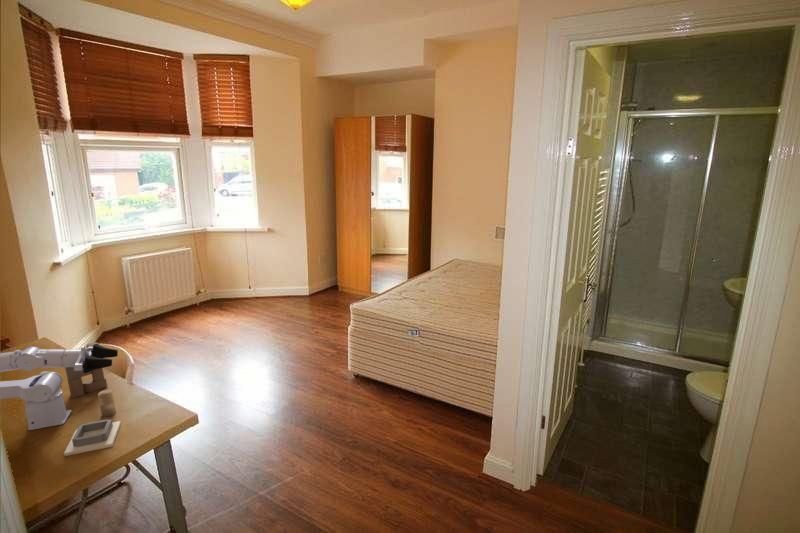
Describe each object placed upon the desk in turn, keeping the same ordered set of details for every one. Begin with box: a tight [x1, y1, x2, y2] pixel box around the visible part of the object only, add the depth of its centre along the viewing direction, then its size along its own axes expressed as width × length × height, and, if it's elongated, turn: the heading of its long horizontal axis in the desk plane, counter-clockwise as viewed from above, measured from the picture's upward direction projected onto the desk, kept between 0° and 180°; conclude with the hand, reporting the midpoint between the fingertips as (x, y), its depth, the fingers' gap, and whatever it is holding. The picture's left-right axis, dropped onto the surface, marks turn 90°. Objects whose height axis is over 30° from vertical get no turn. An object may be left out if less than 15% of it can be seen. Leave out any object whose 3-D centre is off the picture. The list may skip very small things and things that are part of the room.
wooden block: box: [64, 341, 108, 399], centre depth 154 cm, size 4×11×18 cm, turn 139°
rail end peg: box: [97, 389, 117, 418], centre depth 142 cm, size 4×4×8 cm
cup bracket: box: [63, 418, 122, 457], centre depth 130 cm, size 12×12×4 cm
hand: (114, 357), depth 141 cm, fingers open, 7 cm apart
